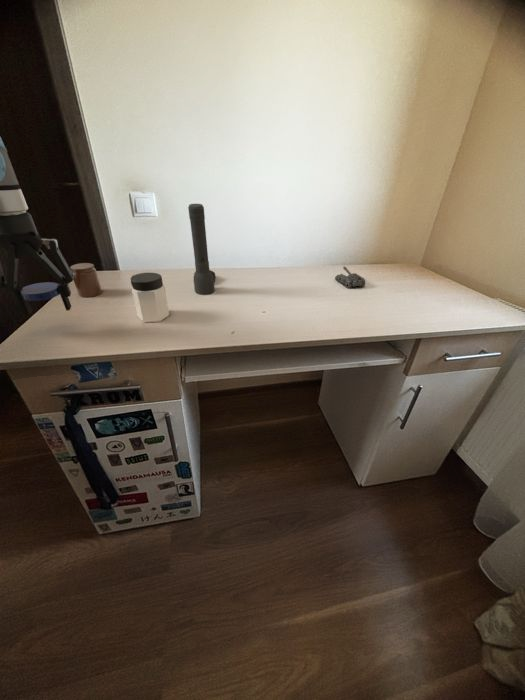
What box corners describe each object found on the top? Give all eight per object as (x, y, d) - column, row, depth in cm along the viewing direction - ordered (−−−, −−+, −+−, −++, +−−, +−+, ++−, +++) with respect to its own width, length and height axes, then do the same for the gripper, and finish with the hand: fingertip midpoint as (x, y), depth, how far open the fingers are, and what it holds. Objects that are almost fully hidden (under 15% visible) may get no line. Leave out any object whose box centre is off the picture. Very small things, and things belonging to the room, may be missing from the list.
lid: (64, 287, 74) (62, 280, 73) (58, 298, 68) (55, 292, 67) (27, 290, 71) (24, 284, 70) (17, 302, 65) (14, 295, 64)
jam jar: (80, 299, 92) (70, 270, 87) (77, 292, 97) (67, 264, 92) (104, 294, 96) (96, 267, 91) (99, 288, 101) (92, 261, 96)
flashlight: (191, 293, 100) (210, 295, 99) (179, 206, 82) (202, 208, 82) (199, 285, 105) (217, 287, 104) (189, 201, 88) (210, 203, 87)
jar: (152, 307, 89) (144, 270, 82) (174, 312, 87) (168, 274, 80) (132, 319, 82) (122, 279, 75) (155, 325, 79) (147, 284, 73)
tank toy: (331, 279, 118) (334, 266, 115) (351, 277, 120) (354, 265, 117) (346, 289, 108) (349, 276, 105) (367, 288, 110) (371, 275, 108)
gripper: (67, 209, 66) (96, 299, 78) (-47, 210, 59) (4, 309, 71) (61, 214, 60) (93, 311, 72) (-66, 216, 53) (-6, 323, 66)
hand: (49, 310), depth 72 cm, fingers closed on lid, 8 cm apart
